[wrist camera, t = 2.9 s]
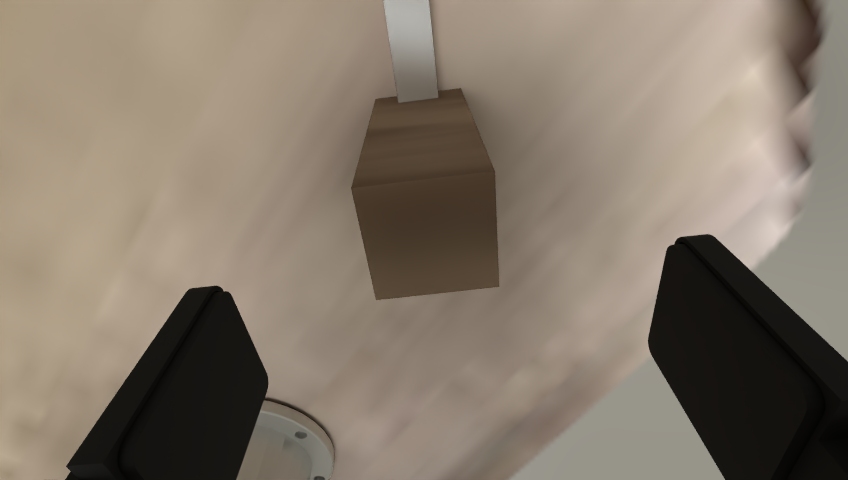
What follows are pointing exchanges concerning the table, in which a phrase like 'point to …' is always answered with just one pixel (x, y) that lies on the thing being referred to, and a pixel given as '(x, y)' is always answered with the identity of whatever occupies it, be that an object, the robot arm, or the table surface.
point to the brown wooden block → (424, 177)
